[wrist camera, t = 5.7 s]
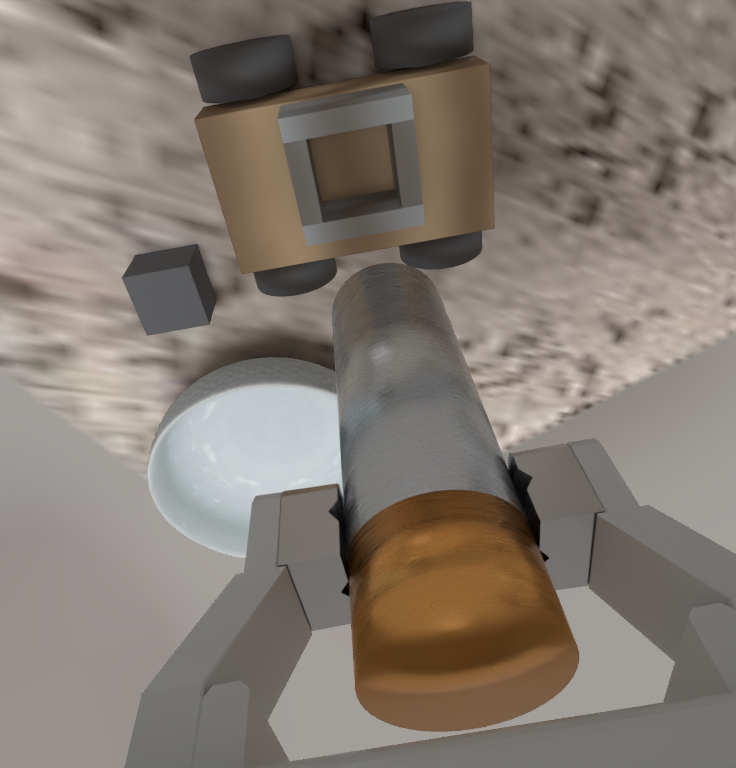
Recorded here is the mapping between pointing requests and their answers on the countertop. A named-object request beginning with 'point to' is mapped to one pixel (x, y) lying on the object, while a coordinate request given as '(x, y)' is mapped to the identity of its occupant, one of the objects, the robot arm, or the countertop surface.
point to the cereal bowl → (243, 446)
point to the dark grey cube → (170, 289)
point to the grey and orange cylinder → (434, 524)
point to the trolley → (351, 151)
